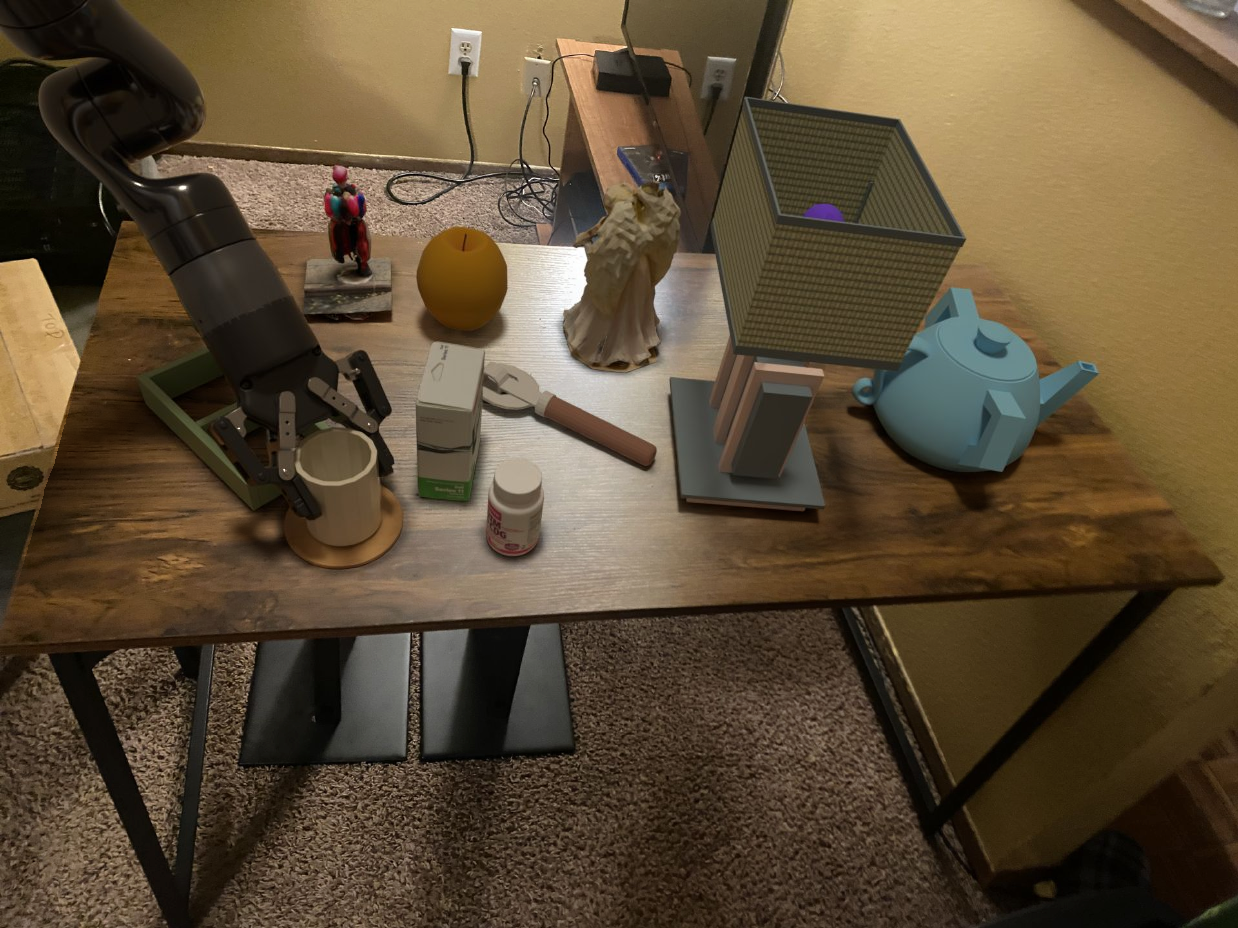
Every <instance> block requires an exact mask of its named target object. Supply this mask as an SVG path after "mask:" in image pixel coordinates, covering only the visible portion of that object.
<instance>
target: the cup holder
mask: <svg viewBox="0 0 1238 928" xmlns="http://www.w3.org/2000/svg"><path fill="white" fill-rule="evenodd" d="M222 376H223V377H224V374H223V373H222V371H221V369H220V368H219V366H218V364H217V363H216V361H215V359H214V358H213V356H212V354H211V353H210V351H209V350H208V348H207V346H205V347H202V348H200V349H198V350H195V351H193V352H191V353H189V354H186V355H184V356H181V357H179V358H177V359H174V360H172V361H170V362H167V363H165V364H163V365H160V366H158V367H156V368H154V369H151V370H149V371H146V372H143V373H141V374H140V375H137V376H136V380H137V383H138V386H139V390H140V392H141V395H142V398H143V400H144V403H145V405H146V406H147V407H148V408H149V409H150V410H151V411H152V412H153V413H154V414H155V415H156V416H158V418H160V420H161V421H162V422H163V423H164V424H165V425H166V426H167V427H168V428H170V430H172V432H174V433H175V435H177V436H178V437H179V439H181V441H182V442H184V444H185V445H187V447H188V448H189V449H190V450H192V452H194V453H195V455H196V456H198V457H199V458H200V460H202V461H203V462H204V464H206V465H207V466H208V467H209V469H211V470H212V471H213V472H214V473H215V474H216V475H217V476H218V477H219V478H220V480H222V481H223V482H224V483H225V484H226V485H227V486H228V487H229V488H230V489H231V490H232V491H233V492H234V493H235V494H236V495H237V496H238V497H239V498H240V499H241V500H242V501H243V502H244V503H245V505H247V506H248V507H249V508H250V509H251V510H252V511H256V510H257V509H259V508H261V507H262V506H264V505H266V504H267V503H270V502H271V501H273V500H274V499H277V498H278V497H280V496H283V494H282V493H281V491H280V489H279V488H278V487H277V486H276V485H274V484H264V485H258V486H249V485H248V484H247V483H246V482H245V481H244V479H243V478H242V477H241V475H240V474H239V473H238V471H237V470H236V469H235V467H234V466H233V465H232V463H231V462H230V461H229V459H228V458H227V457H226V455H225V454H224V453H223V452H222V450H221V449H220V448H219V446H218V445H217V444H216V442H215V441H214V440H213V438H212V437H211V436H210V434H209V433H208V431H207V425H208V423H209V422H211V421H213V420H215V419H218V418H220V417H224V416H225V415H227V414H229V413H230V412H232V411H234V410H235V409H237V401H236V402H233V403H232V404H229V405H228V406H225V407H224V408H221V409H219V410H217V411H215V412H213V413H211V414H209V415H207V416H205V417H202V418H200V419H199V420H196V421H195V420H193V419H192V418H191V416H189V415H188V414H187V413H186V412H185V411H184V410H183V409H182V408H181V407H180V406H179V405H178V404H177V403H176V402H175V401H174V400H173V399H174V398H176V397H178V396H181V395H183V394H185V393H187V392H190V391H192V390H194V389H196V388H198V387H200V386H203V385H205V384H207V383H210V382H211V381H212V382H213V380H216V379H218V378H220V377H222ZM244 426H245V428H246V435H247V434H249V433H251V432H252V431H255V430H256V429H259V428H261V427H262V426H260V425H258V424H256V423H253V422H251V421H249V420H247V419H245V420H244ZM327 428H331V427H330V425H328V424H327V423H326V422H325V421H322V422H319V423H315V424H313V425H312V426H311V427H310V428H309V429H308V430H306V431H304V432H302V433H300V435H301V436H303V437H304V438H306V437H307V436H309V435H311V434H312V433H314V432H316V431H319V430H323V429H327ZM294 453H295V451H294ZM264 467H265V468H269V464H267V465H266V466H264ZM295 476H296V474H295Z"/></svg>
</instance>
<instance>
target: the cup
mask: <svg viewBox="0 0 1238 928" xmlns="http://www.w3.org/2000/svg"><path fill="white" fill-rule="evenodd" d="M294 463H295V474H296V476H300V477H301V478H302V480H303V481H304V483H305V485H306V487H307V488H308V490H309V492H310V493H311V495H312V497H313V498H314V500H315V502H316V503H317V505H318V507H319V508H320V510H321V512H322V516H321V517H319V518H317V519H316V520H310V521H309V520H307V519H306V518H305V517H304V519H305V521H306V525H307V528H308V530H309V532H310V533H311V535H312V536H313V537H314V538H316V539H317V540H319V541H320V542H322V543H325V544H328V545H333V546H348V545H353V544H357V543H359V542H362V541H364V540H366V539H367V538H369V537H370V536H371V535H372V534H373V533H374V532H375V531H376V530H377V529H378V527H379V525H380V523H381V520H382V499H381V488H380V485H381V478H380V477H379V466H378V455H377V449H376V447H375V445H374V443H373V441H372V440H371V439H370V438H369V437H367V436H366V435H365V434H364V433H362V432H360V431H356V430H353V429H350V428H346V427H339V426H338V427H335V426H334V427H333V426H332V427H330V428H327V429H323V430H319V431H316V432H314V433H312V434H311V435H309V436H307V437H306V438H305V437H304V438H303V439H302V440H301V441H300V442H299V443H298V445H296V448H295V453H294Z"/></svg>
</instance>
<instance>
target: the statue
mask: <svg viewBox="0 0 1238 928" xmlns="http://www.w3.org/2000/svg"><path fill="white" fill-rule="evenodd" d="M331 177H332V180H333V182H334V184H332V185H331V187H325V192H324V195H323V201H324V202H323V203H324V204H323V205H324V212H325V216H326V217H327V218H329V219H330V220H329V222H328V224H327V235H328V241H329V246H330V253H331V257H332V258H307V259H306V260H307V261H306V270H305V280H304V286H303V292H304V293H303V294H304V299H303V304H302V309H301V312H302V313H303V315H307V316H311V315H312V316H316V315H317V314H320V315H325V316H326V317H327V318H329V319H330V318H331V319H333V320H336V321H337V320H339V317H340V316H339V315H338V314H342V315H344V317H347V318H350V319H351V320H361V321H364V320H366V319H367V318H369V317H372V316H373V315H372V312H382V311H392V309H393V308H392V305H393V304H392V296H393V294H392V266H391V265H392V261H391V260H392V259H391V257H372V255H371V254H372V234H371V230H370V228H369V225H368V223H367V222H366V221H365V220H364V217H365V215H366V214H367V212H368V208H367V203H366V202H367V201H366V198H365V195H364V193H363V191H362V189H361V187H360V186H356V184H354V183H350V184H349V183H348V182H347V181H348V180H349V178H350V177H349V175H348V169H347V167H345V166H343V165H339V164H337V165H336V164H335V165H333V166H332V176H331ZM352 254H353V255H352ZM345 256H348V258H345Z"/></svg>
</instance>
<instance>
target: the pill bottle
mask: <svg viewBox="0 0 1238 928" xmlns="http://www.w3.org/2000/svg"><path fill="white" fill-rule="evenodd" d="M542 483H543V475H542V471H541V469H540V468H539V467H538V465H537V464H536V463H534V462H532V461H530V460H528V459H526V458H521V457H513V458H509V459H506V460H504V461H502V462H500V464H498V465H497V467H496V468H495V469H494V473H493V481H492V482H491V484H490V486H489V488H488V495H487V512H486V524H485V525H486V527H485V537H486V540H487V543H488V545H489V546H490V547H491V548H492V550H494V551H496V552H497V553H499V554H501V555H504V556H508V557H518V556H523V555H526V554H527V553H529V552H530V551H532V550H533V549H534V548H535V546H536V545H537V543H538V541H539V538H540V533H541V532H540V531H541V524H542V518H543V509H544V503H545V502H544V501H545V491H544V488H543V486H542V485H543V484H542Z"/></svg>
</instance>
